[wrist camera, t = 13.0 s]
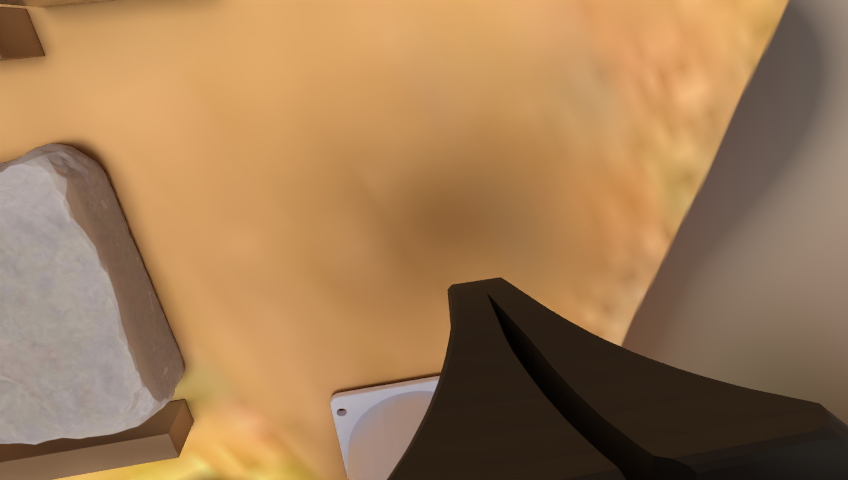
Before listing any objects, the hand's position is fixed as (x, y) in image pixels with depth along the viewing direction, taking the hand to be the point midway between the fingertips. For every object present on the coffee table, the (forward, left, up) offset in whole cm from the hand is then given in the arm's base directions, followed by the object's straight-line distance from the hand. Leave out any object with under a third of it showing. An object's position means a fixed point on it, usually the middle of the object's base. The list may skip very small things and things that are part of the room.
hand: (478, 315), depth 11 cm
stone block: (-2, +17, -10) cm, 20 cm away
